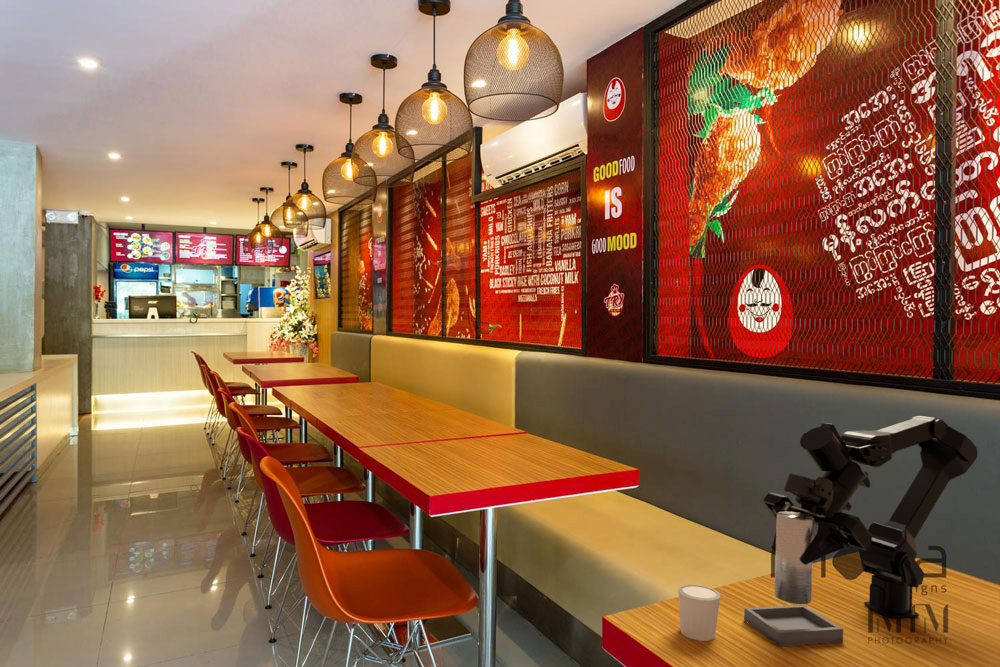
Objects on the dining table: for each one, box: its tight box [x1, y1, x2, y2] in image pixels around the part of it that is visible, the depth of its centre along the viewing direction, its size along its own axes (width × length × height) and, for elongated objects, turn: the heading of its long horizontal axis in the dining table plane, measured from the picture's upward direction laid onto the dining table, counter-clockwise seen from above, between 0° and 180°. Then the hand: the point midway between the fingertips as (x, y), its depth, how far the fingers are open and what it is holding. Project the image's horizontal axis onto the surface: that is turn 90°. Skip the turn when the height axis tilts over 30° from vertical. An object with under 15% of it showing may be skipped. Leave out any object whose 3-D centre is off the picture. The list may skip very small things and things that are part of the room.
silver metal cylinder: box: [774, 511, 815, 605], centre depth 111 cm, size 6×6×14 cm
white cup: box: [677, 584, 721, 642], centre depth 108 cm, size 7×7×7 cm
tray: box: [743, 604, 844, 647], centre depth 111 cm, size 12×10×2 cm
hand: (788, 556), depth 110 cm, fingers closed on silver metal cylinder, 6 cm apart
